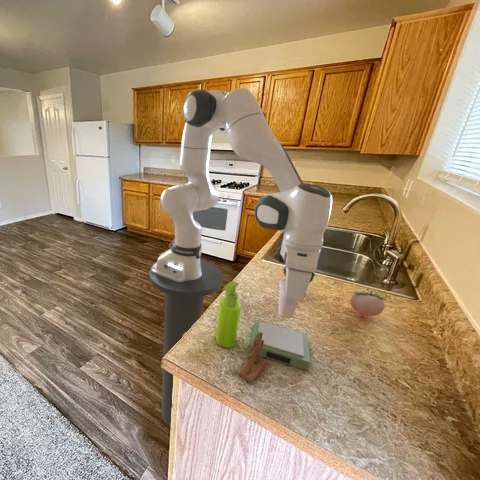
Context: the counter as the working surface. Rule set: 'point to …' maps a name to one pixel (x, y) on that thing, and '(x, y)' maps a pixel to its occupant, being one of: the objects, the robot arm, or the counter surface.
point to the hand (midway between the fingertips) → (289, 296)
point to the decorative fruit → (367, 303)
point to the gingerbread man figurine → (253, 361)
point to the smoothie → (283, 308)
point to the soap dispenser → (228, 317)
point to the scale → (283, 344)
